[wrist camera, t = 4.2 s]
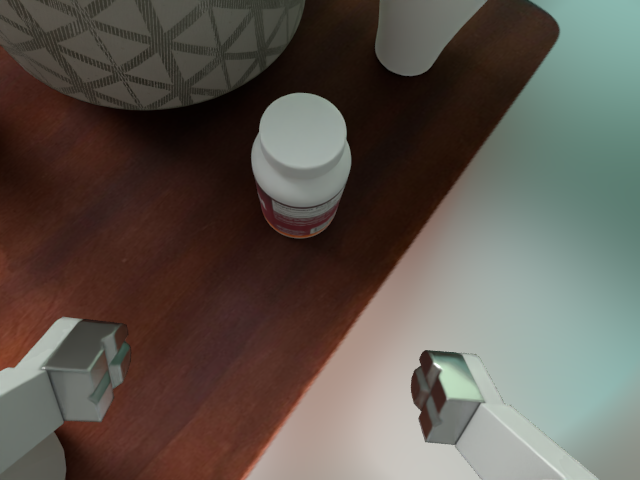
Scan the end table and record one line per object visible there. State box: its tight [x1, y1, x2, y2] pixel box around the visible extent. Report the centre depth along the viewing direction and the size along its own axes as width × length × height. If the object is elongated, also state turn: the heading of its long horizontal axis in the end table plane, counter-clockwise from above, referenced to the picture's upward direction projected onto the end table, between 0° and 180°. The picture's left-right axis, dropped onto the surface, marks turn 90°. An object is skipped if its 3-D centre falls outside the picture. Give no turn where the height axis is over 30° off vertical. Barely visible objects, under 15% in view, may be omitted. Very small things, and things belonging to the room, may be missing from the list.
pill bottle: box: [251, 93, 351, 238], centre depth 24 cm, size 6×6×11 cm
